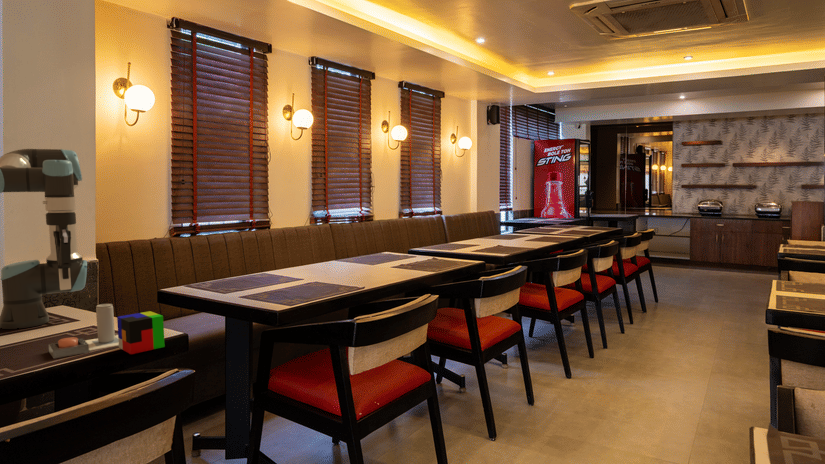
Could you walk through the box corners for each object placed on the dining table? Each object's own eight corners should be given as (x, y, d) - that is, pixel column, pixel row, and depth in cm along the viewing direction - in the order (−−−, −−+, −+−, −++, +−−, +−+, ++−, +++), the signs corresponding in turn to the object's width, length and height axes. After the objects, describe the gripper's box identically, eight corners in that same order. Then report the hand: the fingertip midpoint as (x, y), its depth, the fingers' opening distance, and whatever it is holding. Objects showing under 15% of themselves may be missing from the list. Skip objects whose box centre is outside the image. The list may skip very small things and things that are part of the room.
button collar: (49, 351, 164) (48, 344, 163) (82, 345, 170) (82, 338, 169) (53, 358, 157) (53, 350, 157) (88, 352, 163) (88, 344, 163)
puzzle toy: (118, 348, 167) (117, 316, 167) (151, 341, 175) (150, 311, 174) (130, 354, 161) (129, 322, 160) (164, 347, 168) (163, 315, 167)
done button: (57, 350, 163) (57, 339, 163) (76, 347, 167) (76, 336, 166) (60, 354, 160) (59, 342, 159) (79, 350, 163) (79, 339, 163)
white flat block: (81, 342, 174) (81, 340, 174) (122, 335, 182) (121, 334, 182) (89, 350, 164) (89, 349, 164) (132, 343, 172) (132, 342, 172)
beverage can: (107, 343, 170) (105, 307, 169) (94, 343, 171) (92, 306, 170) (118, 339, 175) (116, 303, 174) (105, 339, 176) (103, 303, 175)
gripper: (42, 211, 162) (47, 287, 164) (48, 212, 153) (54, 294, 155) (71, 210, 167) (75, 284, 169) (79, 211, 158) (84, 290, 160)
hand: (65, 289), depth 162 cm, fingers closed
